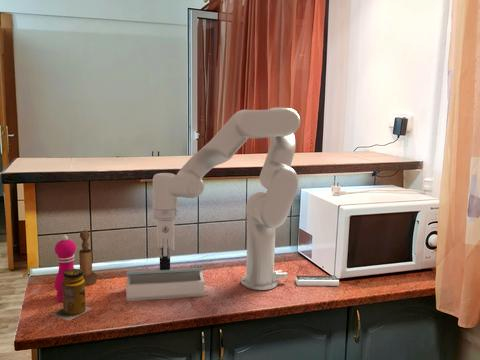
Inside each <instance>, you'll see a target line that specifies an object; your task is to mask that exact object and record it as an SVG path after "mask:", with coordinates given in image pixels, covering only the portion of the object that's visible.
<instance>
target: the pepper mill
mask: <svg viewBox="0 0 480 360" xmlns="http://www.w3.org/2000/svg"><path fill="white" fill-rule="evenodd" d="M76 246H77V245H76V243H75V242H74V241H73V240H71V239H69V237H68V235H66V234H65V235H62V236H61V240H59V241H58V242H56V244H55V246H54V253H55V255H57V256H56V262H58V272H57V274H56V276H55V280H54V282H53V283H54V286H53V287H54V289H55V291H57V292H56V293H55V294H56V300H57V301H59V302H61V303H63V289H62V282H63V278H64V276H63V274H64V272H65V271H67V270H71V269H75V267H74V261H75V256H76V255H75V253H76V250H77V247H76Z"/></svg>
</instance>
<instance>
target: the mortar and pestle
mask: <svg viewBox="0 0 480 360" xmlns="http://www.w3.org/2000/svg"><path fill="white" fill-rule="evenodd" d="M90 236H91V235H90V231H88V230H85V229H84V230H82V231H80V234H79V237H80V239H81V240H82V243H81V248H82V249H80V250H79V255H78V256H79V269H80V270H82V271H83V279H84V280H85V287H89V286H92V285H95V284H96V283H97V273H95V272H94V271H93V250H92V249H90V248H89V247H90V246H89V245H90V244H89V242H88V240H89V238H90Z"/></svg>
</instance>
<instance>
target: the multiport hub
mask: <svg viewBox="0 0 480 360" xmlns="http://www.w3.org/2000/svg"><path fill="white" fill-rule="evenodd" d="M294 279H295V281H294V282H295V284H296V286H297V287H298V286H299V287H300V286H302V287H303V286H306V287H308V286H309V287H313V286H314V287H316V286H318V287H330V286H331V287H338V286H339V285H340V279H338V277H337V275H303V274H302V275H298V274H297V275H295V277H294Z"/></svg>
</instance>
